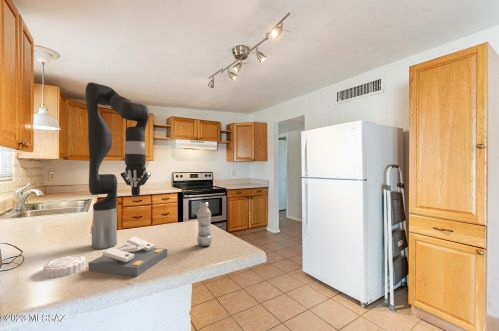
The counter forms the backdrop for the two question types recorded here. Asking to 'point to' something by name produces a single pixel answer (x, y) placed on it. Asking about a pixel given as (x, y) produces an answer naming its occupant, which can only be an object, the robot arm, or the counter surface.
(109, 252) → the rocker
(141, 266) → the switch console
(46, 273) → the mooncake
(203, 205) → the plastic bottle
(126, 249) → the plate
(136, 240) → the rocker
